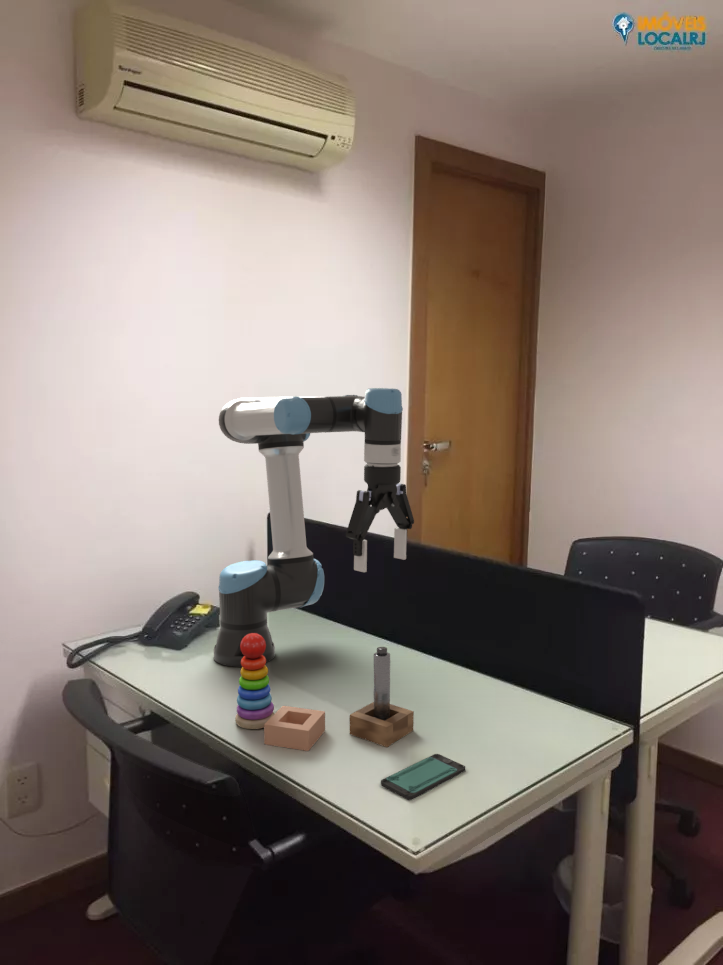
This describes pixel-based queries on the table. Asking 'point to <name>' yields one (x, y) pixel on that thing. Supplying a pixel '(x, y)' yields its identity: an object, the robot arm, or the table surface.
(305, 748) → the pink square socket block
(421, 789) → the smartphone
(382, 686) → the grey capped cylinder
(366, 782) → the table surface
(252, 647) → the stacking toy
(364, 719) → the brown wooden square holder
